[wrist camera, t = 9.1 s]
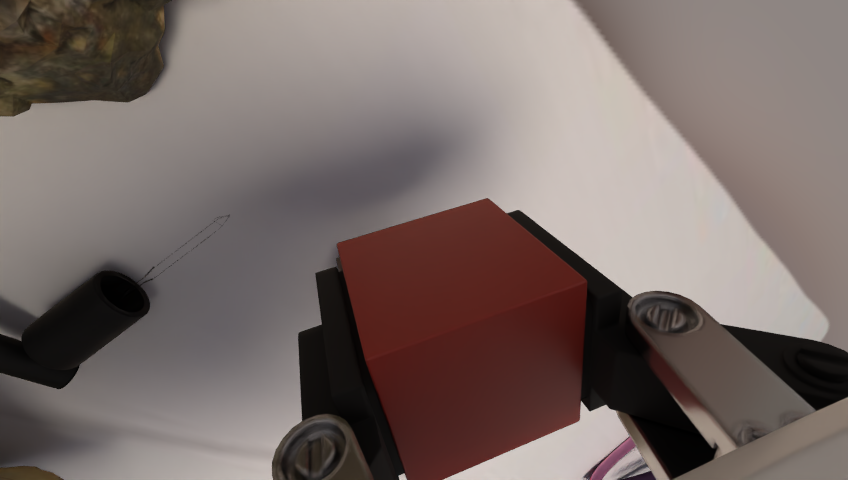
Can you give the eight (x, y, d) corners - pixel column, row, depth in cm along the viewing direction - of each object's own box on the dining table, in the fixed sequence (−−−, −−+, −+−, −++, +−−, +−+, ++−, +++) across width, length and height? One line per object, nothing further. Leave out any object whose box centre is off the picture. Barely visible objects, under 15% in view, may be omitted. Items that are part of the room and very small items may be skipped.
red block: (374, 358, 12) (411, 493, 8) (335, 242, 9) (365, 360, 6) (499, 313, 12) (580, 421, 9) (488, 196, 10) (588, 280, 7)
